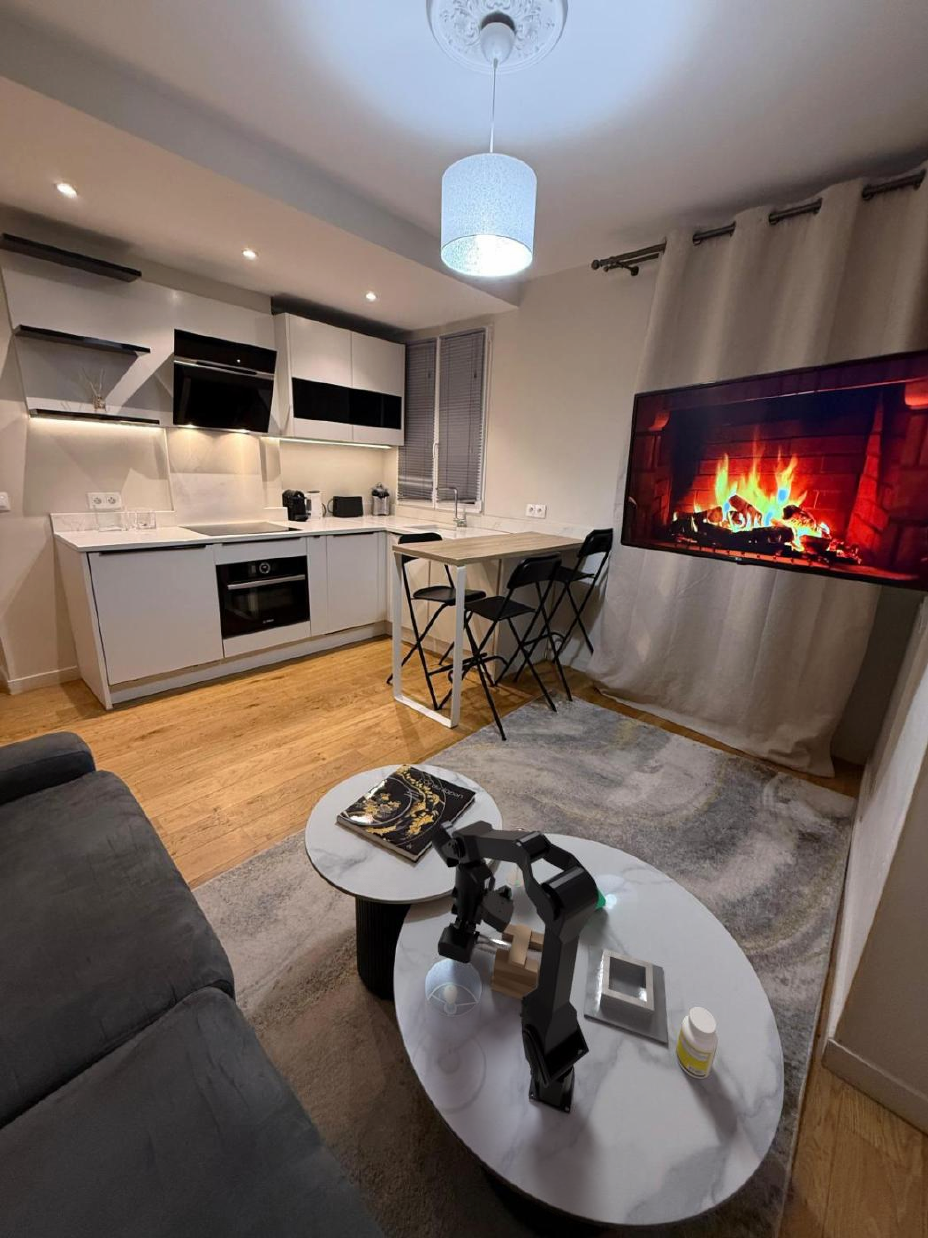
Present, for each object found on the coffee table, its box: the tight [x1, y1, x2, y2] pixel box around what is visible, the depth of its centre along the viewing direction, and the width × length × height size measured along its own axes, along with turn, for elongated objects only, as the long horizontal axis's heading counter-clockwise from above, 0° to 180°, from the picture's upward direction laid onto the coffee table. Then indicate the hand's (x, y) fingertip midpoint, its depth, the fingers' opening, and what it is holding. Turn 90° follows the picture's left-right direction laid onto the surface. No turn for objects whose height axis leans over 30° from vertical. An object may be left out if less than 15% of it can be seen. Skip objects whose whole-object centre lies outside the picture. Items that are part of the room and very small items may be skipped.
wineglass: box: [505, 826, 532, 888], centre depth 115 cm, size 7×7×12 cm
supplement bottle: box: [675, 1006, 719, 1080], centre depth 80 cm, size 5×5×10 cm
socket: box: [583, 944, 668, 1046], centre depth 92 cm, size 14×14×4 cm
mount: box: [490, 922, 544, 1001], centre depth 94 cm, size 10×8×7 cm
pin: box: [474, 931, 542, 971], centre depth 95 cm, size 18×3×3 cm, turn 72°
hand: (467, 944), depth 98 cm, fingers closed on pin, 3 cm apart
